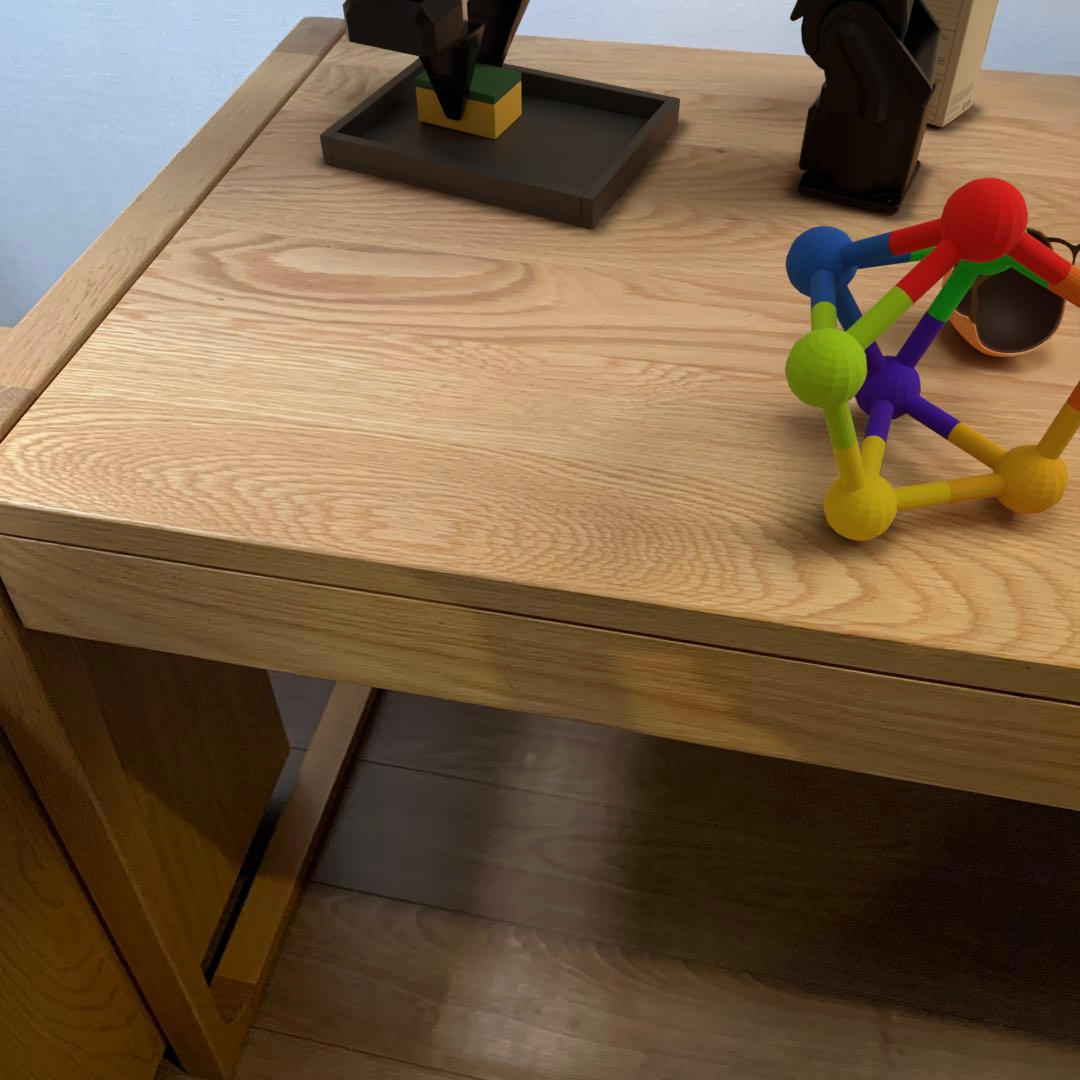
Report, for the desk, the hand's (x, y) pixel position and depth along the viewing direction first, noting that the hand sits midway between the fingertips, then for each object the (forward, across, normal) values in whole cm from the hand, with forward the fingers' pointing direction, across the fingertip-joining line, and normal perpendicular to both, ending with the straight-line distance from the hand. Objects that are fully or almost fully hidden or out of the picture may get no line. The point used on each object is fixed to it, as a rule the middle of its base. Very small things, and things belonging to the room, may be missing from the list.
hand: (469, 105), depth 73 cm
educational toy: (+2, +22, +34) cm, 40 cm away
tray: (+1, +1, +3) cm, 4 cm away
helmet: (-6, +13, +38) cm, 41 cm away
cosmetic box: (+1, -16, +27) cm, 32 cm away
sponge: (+1, 0, 0) cm, 1 cm away
